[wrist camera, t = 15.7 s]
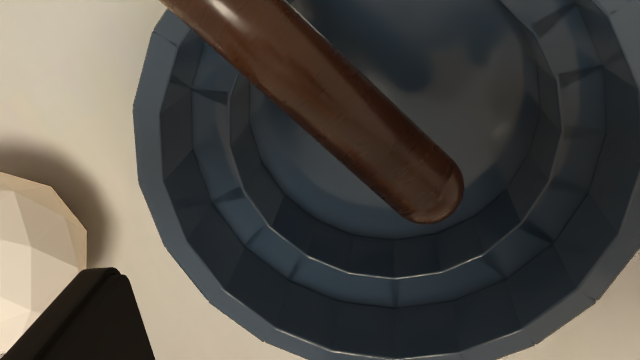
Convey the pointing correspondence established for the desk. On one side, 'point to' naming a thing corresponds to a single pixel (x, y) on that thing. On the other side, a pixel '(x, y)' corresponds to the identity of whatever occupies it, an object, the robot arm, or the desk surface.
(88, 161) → the desk surface
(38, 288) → the ornament
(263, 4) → the stirring stick
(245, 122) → the mixing bowl
